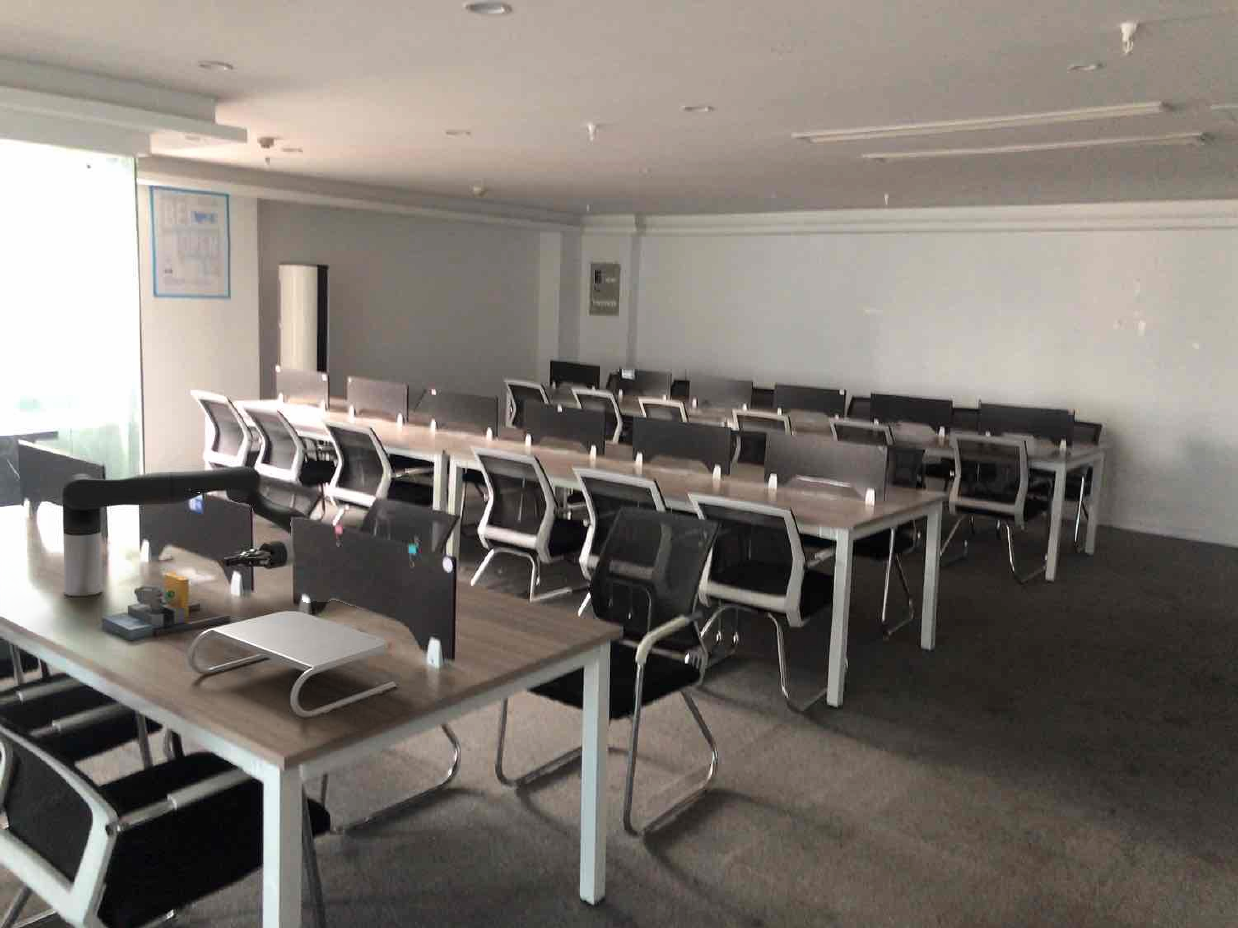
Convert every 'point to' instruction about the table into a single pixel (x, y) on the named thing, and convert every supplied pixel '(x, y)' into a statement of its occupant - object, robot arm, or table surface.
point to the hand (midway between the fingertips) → (224, 562)
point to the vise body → (150, 623)
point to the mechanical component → (154, 597)
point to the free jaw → (176, 601)
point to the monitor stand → (297, 648)
